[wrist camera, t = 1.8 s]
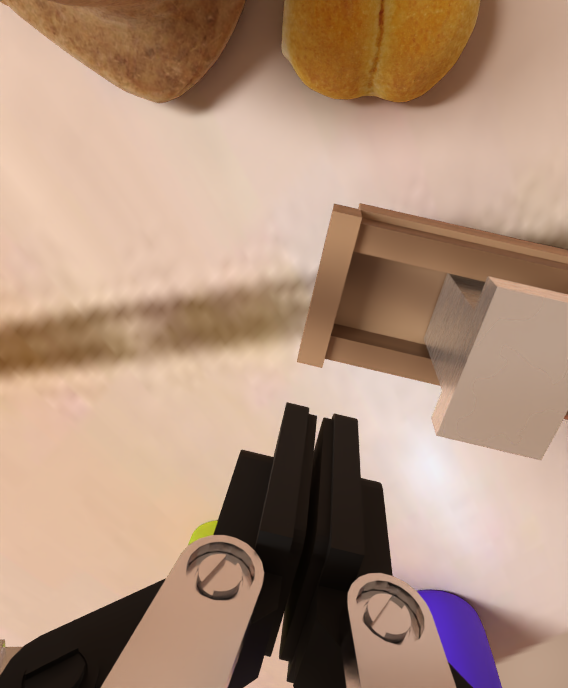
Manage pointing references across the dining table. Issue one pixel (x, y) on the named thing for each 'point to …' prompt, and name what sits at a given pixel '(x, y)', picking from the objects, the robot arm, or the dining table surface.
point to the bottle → (462, 638)
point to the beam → (405, 285)
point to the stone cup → (138, 38)
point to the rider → (499, 364)
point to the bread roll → (375, 44)
